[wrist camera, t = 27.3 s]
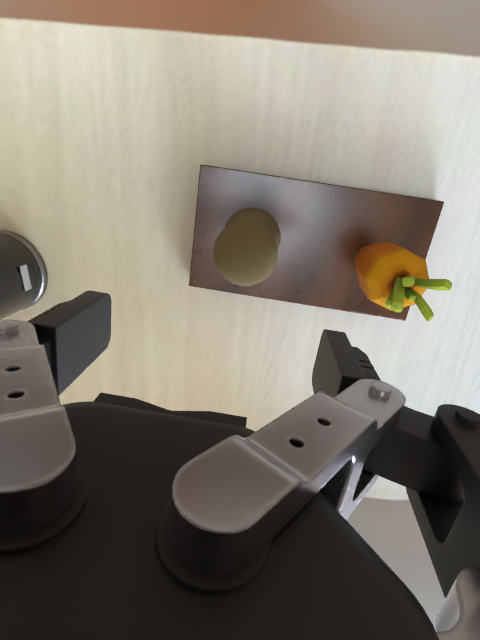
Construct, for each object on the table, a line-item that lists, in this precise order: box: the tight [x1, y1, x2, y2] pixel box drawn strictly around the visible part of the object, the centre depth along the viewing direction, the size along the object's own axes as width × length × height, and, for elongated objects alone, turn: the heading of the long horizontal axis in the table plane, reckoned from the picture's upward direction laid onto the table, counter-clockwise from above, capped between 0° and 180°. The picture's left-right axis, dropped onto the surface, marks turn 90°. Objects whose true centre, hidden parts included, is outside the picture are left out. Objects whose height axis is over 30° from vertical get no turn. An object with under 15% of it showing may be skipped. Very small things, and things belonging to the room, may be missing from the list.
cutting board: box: [189, 165, 444, 321], centre depth 39 cm, size 24×12×2 cm, turn 82°
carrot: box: [354, 242, 452, 321], centre depth 31 cm, size 5×5×15 cm
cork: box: [213, 208, 281, 286], centre depth 33 cm, size 6×6×11 cm
